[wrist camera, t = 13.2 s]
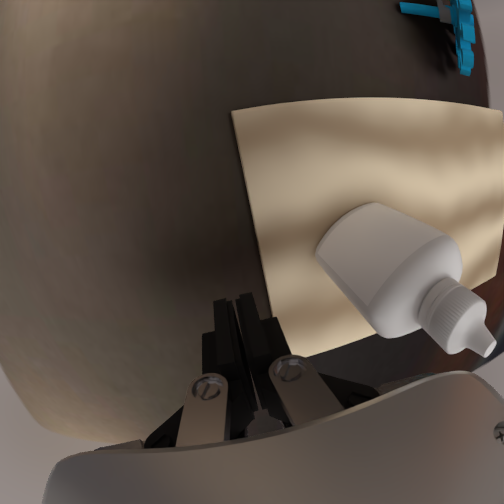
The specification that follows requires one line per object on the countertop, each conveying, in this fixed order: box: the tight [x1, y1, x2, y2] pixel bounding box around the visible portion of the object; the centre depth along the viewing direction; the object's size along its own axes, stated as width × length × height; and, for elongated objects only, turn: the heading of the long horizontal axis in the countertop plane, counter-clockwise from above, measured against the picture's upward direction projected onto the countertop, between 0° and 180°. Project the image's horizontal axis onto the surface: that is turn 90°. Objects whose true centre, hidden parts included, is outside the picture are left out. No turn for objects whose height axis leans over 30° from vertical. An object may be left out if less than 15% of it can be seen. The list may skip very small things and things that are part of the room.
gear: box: [400, 0, 475, 76], centre depth 10 cm, size 11×6×10 cm
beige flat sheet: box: [231, 98, 504, 357], centre depth 18 cm, size 18×26×1 cm
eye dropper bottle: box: [315, 202, 496, 357], centre depth 12 cm, size 4×6×12 cm
